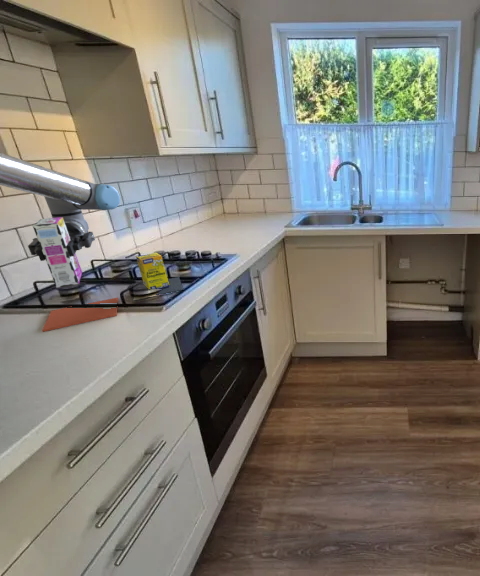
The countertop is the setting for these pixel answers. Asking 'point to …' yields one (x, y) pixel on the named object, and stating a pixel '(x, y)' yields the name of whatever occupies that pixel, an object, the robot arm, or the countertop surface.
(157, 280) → the supplement box
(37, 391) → the countertop surface
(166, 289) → the slate mat
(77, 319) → the terracotta mat
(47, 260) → the candy bar box
